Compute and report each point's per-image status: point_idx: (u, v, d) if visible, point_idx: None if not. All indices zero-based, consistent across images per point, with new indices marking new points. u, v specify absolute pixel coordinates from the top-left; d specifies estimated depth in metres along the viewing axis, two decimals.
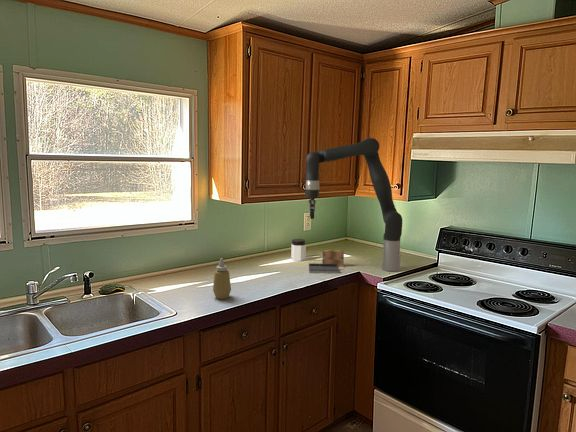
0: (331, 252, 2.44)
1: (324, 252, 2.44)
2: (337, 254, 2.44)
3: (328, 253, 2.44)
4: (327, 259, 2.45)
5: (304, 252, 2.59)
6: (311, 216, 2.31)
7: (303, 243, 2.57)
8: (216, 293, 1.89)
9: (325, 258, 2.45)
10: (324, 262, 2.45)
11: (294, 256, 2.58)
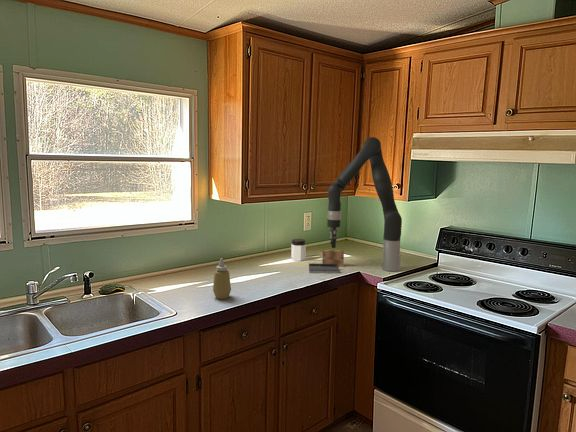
0: (331, 252, 2.44)
1: (324, 252, 2.44)
2: (337, 254, 2.44)
3: (328, 253, 2.44)
4: (327, 259, 2.45)
5: (304, 252, 2.59)
6: (333, 245, 2.40)
7: (303, 243, 2.57)
8: (216, 293, 1.89)
9: (325, 258, 2.45)
10: (324, 262, 2.45)
11: (294, 256, 2.58)
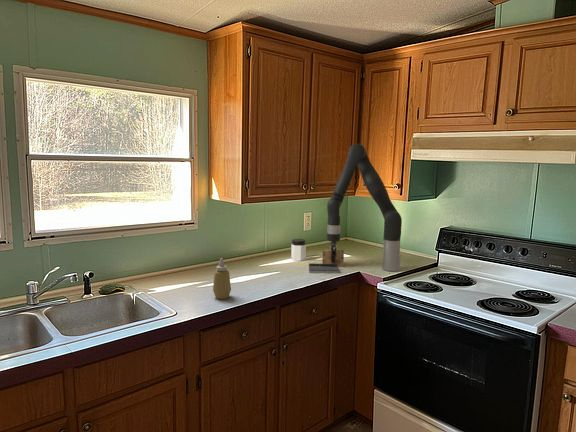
0: None
1: (324, 252, 2.44)
2: (337, 254, 2.44)
3: (328, 253, 2.44)
4: (327, 259, 2.45)
5: (304, 252, 2.59)
6: (332, 260, 2.43)
7: (303, 243, 2.57)
8: (216, 293, 1.89)
9: (325, 258, 2.45)
10: (324, 262, 2.45)
11: (294, 256, 2.58)
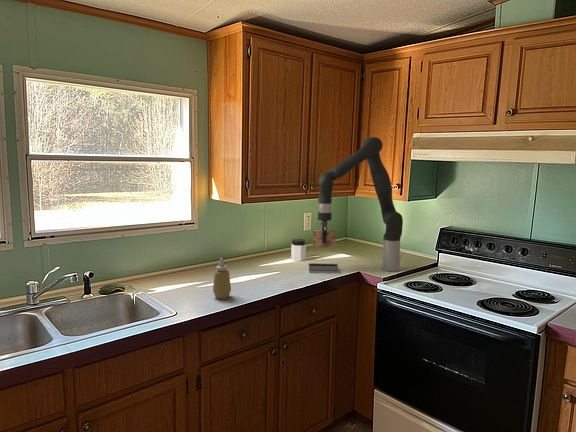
0: None
1: (315, 232, 2.32)
2: (329, 235, 2.32)
3: (319, 233, 2.32)
4: (318, 240, 2.32)
5: (304, 252, 2.59)
6: (323, 241, 2.31)
7: (303, 243, 2.57)
8: (216, 293, 1.89)
9: (316, 239, 2.32)
10: (315, 243, 2.32)
11: (294, 256, 2.58)
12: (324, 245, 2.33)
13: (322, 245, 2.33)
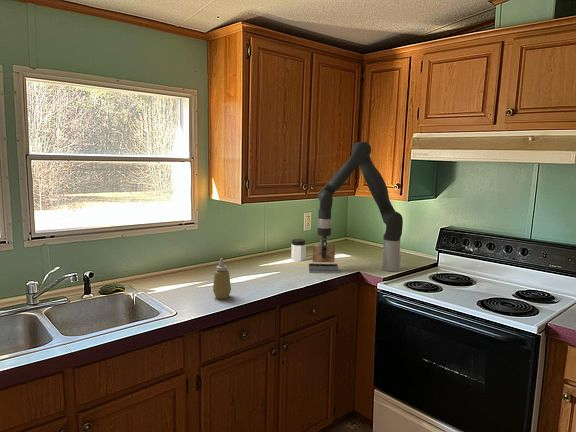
0: (321, 247, 2.33)
1: (314, 247, 2.33)
2: (328, 250, 2.33)
3: (318, 248, 2.33)
4: (317, 255, 2.33)
5: (304, 252, 2.59)
6: (323, 256, 2.32)
7: (303, 243, 2.57)
8: (216, 293, 1.89)
9: (315, 254, 2.33)
10: (314, 258, 2.34)
11: (294, 256, 2.58)
12: (324, 260, 2.34)
13: (322, 260, 2.34)
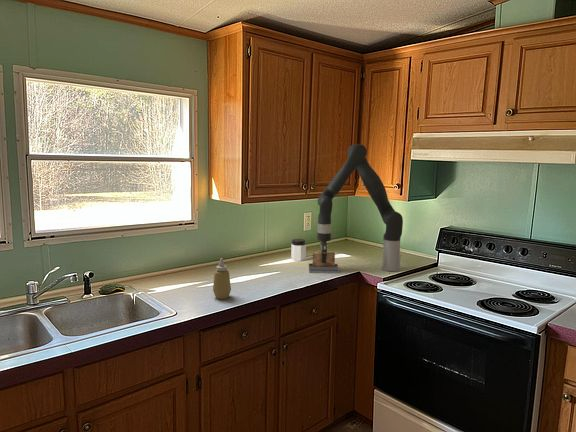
0: (321, 254, 2.33)
1: (314, 254, 2.33)
2: (328, 257, 2.33)
3: (318, 255, 2.33)
4: (317, 262, 2.34)
5: (304, 252, 2.59)
6: (323, 261, 2.31)
7: (303, 243, 2.57)
8: (216, 293, 1.89)
9: (315, 261, 2.34)
10: (314, 265, 2.34)
11: (294, 256, 2.58)
12: None
13: None
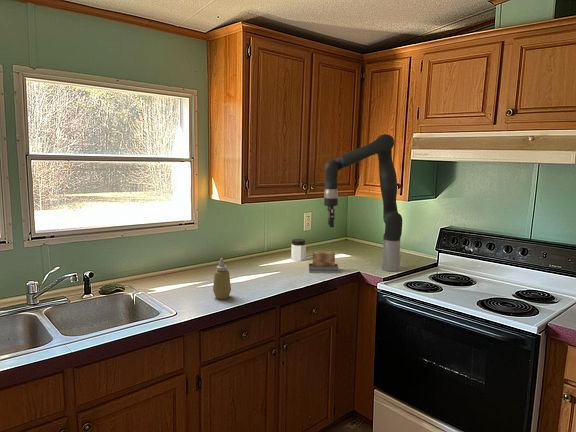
0: (321, 254, 2.33)
1: (314, 254, 2.33)
2: (328, 257, 2.33)
3: (318, 255, 2.33)
4: (317, 262, 2.34)
5: (304, 252, 2.59)
6: (331, 225, 2.33)
7: (303, 243, 2.57)
8: (216, 293, 1.89)
9: (315, 261, 2.34)
10: (314, 265, 2.34)
11: (294, 256, 2.58)
12: None
13: None
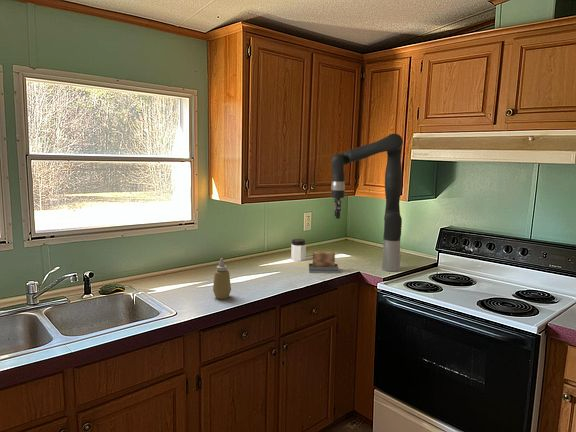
0: (321, 254, 2.33)
1: (314, 254, 2.33)
2: (328, 257, 2.33)
3: (318, 255, 2.33)
4: (317, 262, 2.34)
5: (304, 252, 2.59)
6: (337, 216, 2.39)
7: (303, 243, 2.57)
8: (216, 293, 1.89)
9: (315, 261, 2.34)
10: (314, 265, 2.34)
11: (294, 256, 2.58)
12: None
13: None
